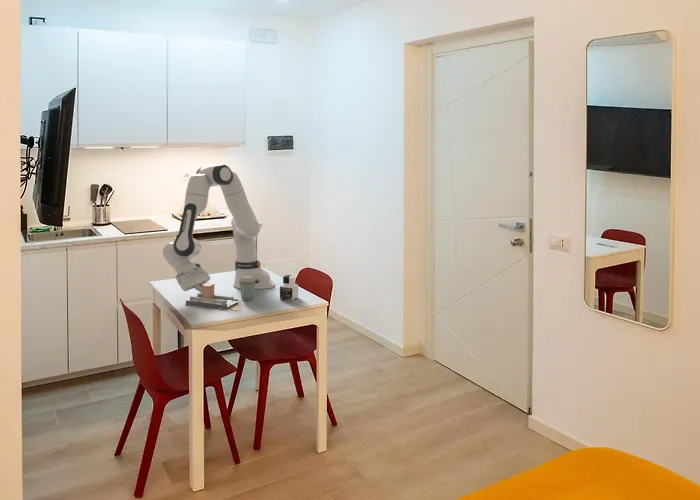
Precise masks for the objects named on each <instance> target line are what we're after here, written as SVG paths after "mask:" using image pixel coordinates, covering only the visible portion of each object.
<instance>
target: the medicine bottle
mask: <svg viewBox="0 0 700 500" xmlns="http://www.w3.org/2000/svg"><path fill="white" fill-rule="evenodd" d="M297 297H298V298H299V284H296V276H294V275H291V274H287V275H284V276H283V277H282V285H280V286H279V299H285V300H284V301H287V300H293V299H295V298H297ZM298 298H297V299H298ZM295 300H296V299H295ZM293 301H294V300H293Z"/></svg>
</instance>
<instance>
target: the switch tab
mask: <svg viewBox="0 0 700 500" xmlns="http://www.w3.org/2000/svg"><path fill="white" fill-rule="evenodd" d="M215 285H216V284H215V283H209V282H207V283H205V284H204V285H202V293H203V298H211V299H214V298H215V296H214V295H215Z"/></svg>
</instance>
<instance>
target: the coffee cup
mask: <svg viewBox="0 0 700 500" xmlns="http://www.w3.org/2000/svg"><path fill="white" fill-rule="evenodd" d="M255 280H256V278H255V276H254V275H241V276H240V277H239V282H240V288H239V289H240V295H241V296H240V297H241V300H242V301H244V300H250V301H253V300H254V297H255V296H254V294H255V289H254V288H255ZM252 299H253V300H252Z"/></svg>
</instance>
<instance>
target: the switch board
mask: <svg viewBox="0 0 700 500" xmlns="http://www.w3.org/2000/svg"><path fill="white" fill-rule="evenodd" d="M214 296H215V298H214V299H211V298H203V293H202V294H201V293H200V292H197V295H195V296H193V295H190V296H189V298H188V299H185V305H189V306H195V305H196V307H203V306H204V307H205V308H210V307H212V308H211V309H218V308H220V310H227V309H228V308H227V304H226V303H227V300H232V301H239V300H238V299H239V298H235V297H234V296H229V295H220V294H214ZM226 308H227V309H226Z"/></svg>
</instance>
